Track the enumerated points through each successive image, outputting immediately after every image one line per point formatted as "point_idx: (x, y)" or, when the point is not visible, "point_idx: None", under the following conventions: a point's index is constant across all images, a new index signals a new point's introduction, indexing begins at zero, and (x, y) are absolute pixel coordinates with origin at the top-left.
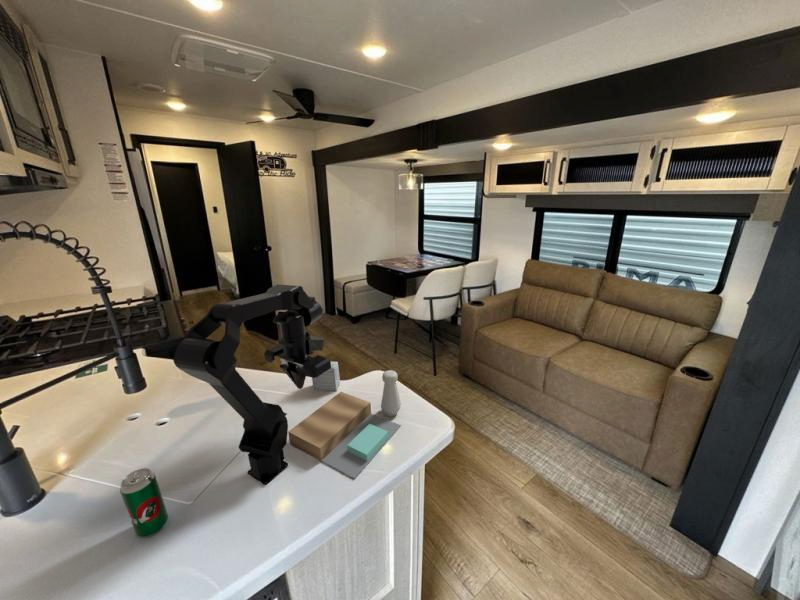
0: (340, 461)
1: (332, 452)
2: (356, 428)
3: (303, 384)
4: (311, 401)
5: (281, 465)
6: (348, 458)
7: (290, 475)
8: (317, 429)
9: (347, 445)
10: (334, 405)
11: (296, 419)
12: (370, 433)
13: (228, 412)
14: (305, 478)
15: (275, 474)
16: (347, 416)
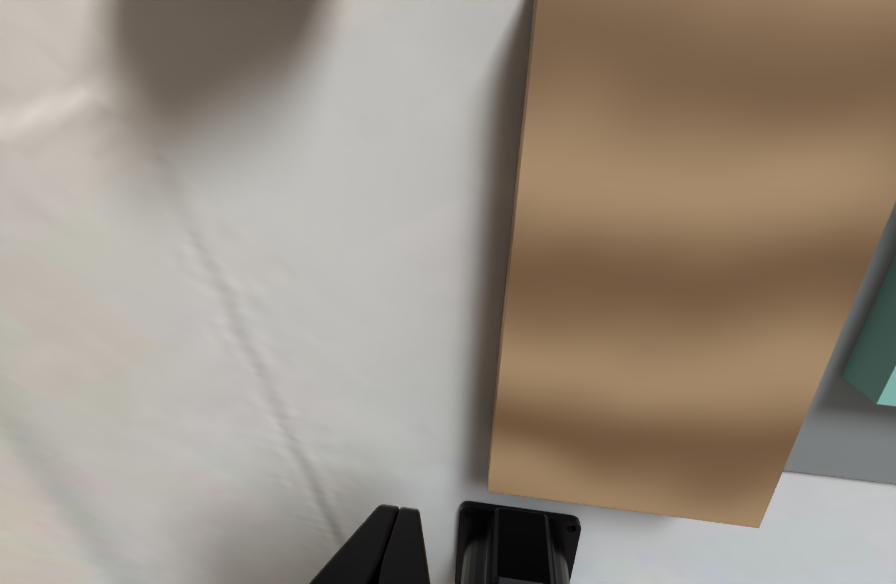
0: (825, 438)
1: None
2: None
3: (423, 545)
4: (305, 83)
5: (557, 536)
6: (865, 411)
7: (620, 542)
8: (650, 427)
9: (875, 401)
10: (617, 161)
11: (370, 280)
12: None
13: (36, 378)
14: (693, 536)
15: (568, 569)
16: (814, 234)
